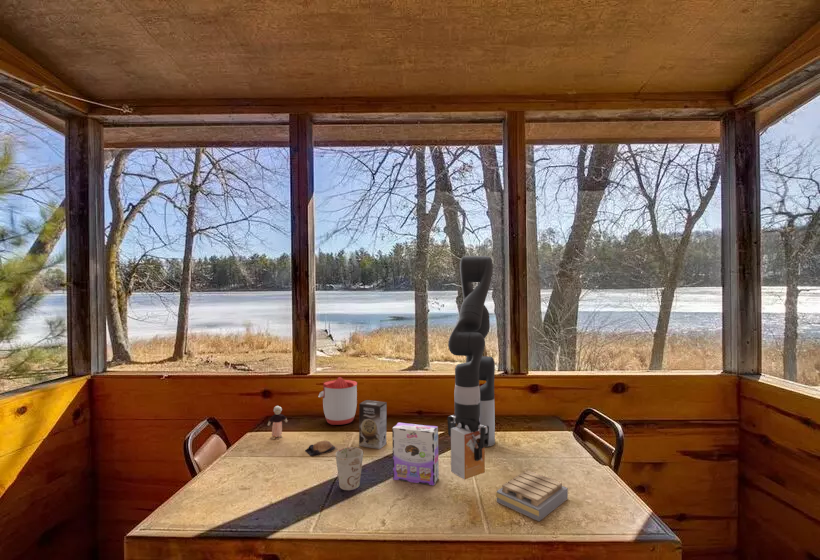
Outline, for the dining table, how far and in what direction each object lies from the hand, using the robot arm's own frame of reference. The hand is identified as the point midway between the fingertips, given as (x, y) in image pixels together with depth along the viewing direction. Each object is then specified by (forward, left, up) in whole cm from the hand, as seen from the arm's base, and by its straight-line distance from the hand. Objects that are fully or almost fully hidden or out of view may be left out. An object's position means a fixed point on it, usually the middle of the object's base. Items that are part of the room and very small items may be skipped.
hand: (467, 455), depth 117 cm
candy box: (-17, -5, -11) cm, 21 cm away
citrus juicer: (-80, +7, -11) cm, 81 cm away
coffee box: (-48, +2, -11) cm, 49 cm away
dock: (+15, +10, -11) cm, 21 cm away
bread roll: (-57, -15, -11) cm, 61 cm away
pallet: (+15, +10, -8) cm, 20 cm away
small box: (0, 0, -5) cm, 5 cm away
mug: (-30, -22, -11) cm, 39 cm away
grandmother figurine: (-81, -21, -11) cm, 84 cm away
